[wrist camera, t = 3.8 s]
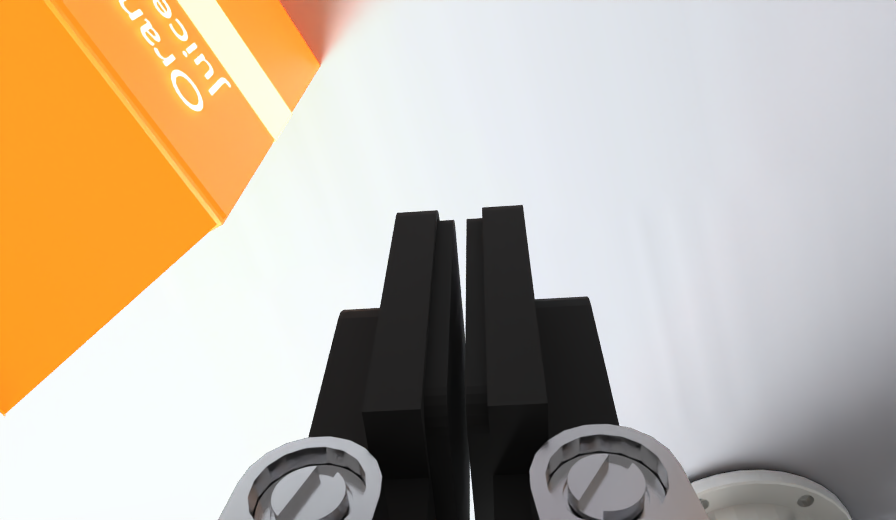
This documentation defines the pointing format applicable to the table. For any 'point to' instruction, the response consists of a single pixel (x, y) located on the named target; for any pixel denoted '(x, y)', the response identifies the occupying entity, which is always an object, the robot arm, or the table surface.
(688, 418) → the table surface
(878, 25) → the table surface
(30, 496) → the table surface
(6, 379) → the orange juice
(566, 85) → the table surface
